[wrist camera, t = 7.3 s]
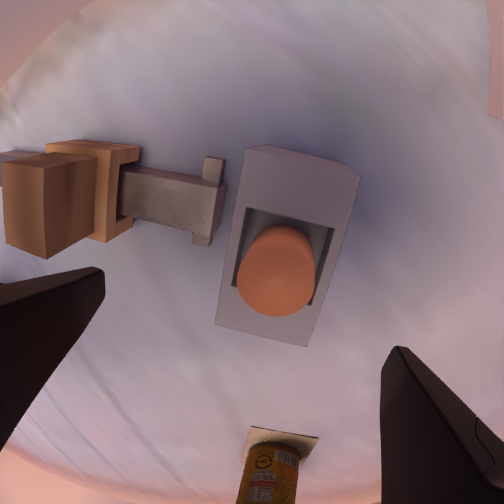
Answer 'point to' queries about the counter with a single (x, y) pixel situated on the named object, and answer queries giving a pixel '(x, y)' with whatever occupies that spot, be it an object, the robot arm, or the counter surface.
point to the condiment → (272, 466)
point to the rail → (166, 195)
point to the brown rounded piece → (277, 271)
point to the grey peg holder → (290, 213)
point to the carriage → (64, 196)
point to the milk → (496, 57)
